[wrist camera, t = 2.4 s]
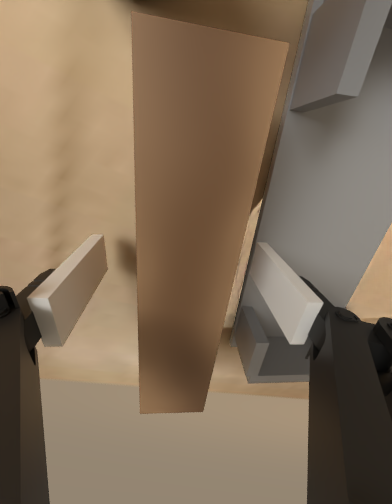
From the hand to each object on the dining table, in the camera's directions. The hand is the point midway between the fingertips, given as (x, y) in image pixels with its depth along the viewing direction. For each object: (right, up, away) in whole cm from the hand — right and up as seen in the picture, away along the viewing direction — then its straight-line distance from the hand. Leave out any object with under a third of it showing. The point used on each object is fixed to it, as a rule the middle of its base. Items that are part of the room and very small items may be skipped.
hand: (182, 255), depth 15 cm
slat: (0, +1, +2) cm, 2 cm away
